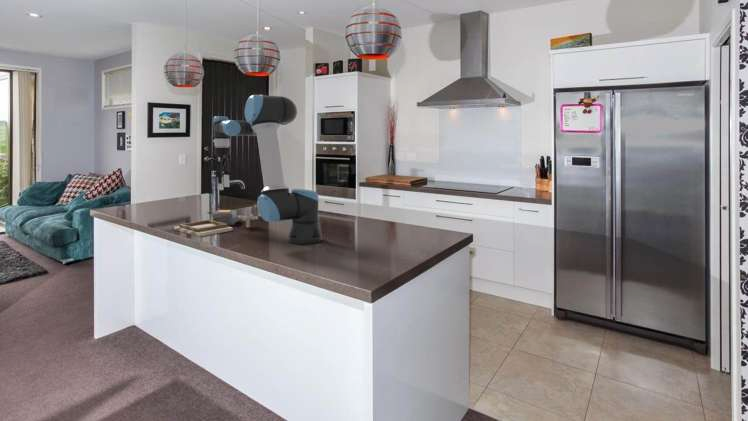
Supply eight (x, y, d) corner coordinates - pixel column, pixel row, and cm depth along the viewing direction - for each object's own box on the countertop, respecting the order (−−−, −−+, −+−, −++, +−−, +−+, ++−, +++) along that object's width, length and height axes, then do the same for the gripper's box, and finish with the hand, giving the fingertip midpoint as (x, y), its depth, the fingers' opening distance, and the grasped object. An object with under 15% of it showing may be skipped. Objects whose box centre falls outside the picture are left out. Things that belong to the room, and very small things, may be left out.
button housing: (233, 224, 232) (233, 213, 231) (211, 224, 231) (211, 213, 230) (238, 220, 242) (237, 210, 241) (217, 220, 241) (216, 209, 240)
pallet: (232, 230, 219) (232, 224, 218) (199, 236, 205) (198, 230, 204) (207, 224, 232) (207, 218, 231) (174, 229, 218) (174, 223, 217)
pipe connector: (261, 225, 231) (260, 206, 230) (253, 229, 221) (253, 209, 220) (242, 224, 232) (241, 205, 231) (234, 228, 222) (233, 209, 221)
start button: (229, 217, 233) (229, 211, 233) (217, 217, 233) (217, 211, 232) (232, 215, 239) (231, 210, 239) (220, 215, 239) (220, 209, 238)
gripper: (220, 146, 241) (222, 185, 245) (207, 147, 217) (210, 191, 221) (234, 146, 242) (236, 185, 246) (223, 147, 218) (225, 191, 222)
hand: (223, 188), depth 233 cm, fingers open, 12 cm apart
